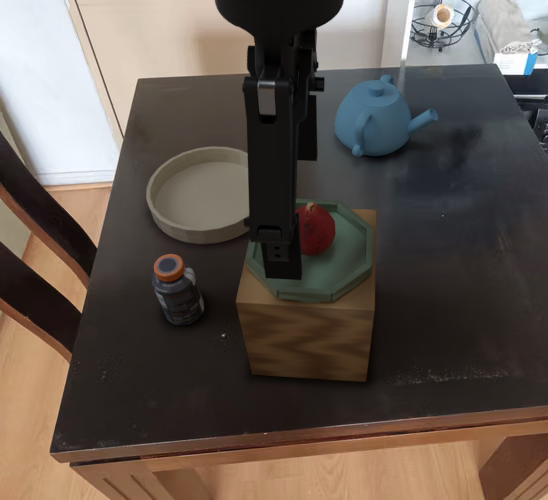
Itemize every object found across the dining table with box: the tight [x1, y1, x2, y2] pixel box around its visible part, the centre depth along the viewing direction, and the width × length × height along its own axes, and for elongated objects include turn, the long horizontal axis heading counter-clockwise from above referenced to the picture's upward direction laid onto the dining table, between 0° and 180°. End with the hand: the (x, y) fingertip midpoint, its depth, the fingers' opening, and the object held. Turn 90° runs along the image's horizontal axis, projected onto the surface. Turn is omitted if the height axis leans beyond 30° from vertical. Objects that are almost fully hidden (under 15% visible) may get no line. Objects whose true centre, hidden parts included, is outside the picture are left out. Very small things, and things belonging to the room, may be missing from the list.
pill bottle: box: [151, 253, 205, 326], centre depth 78 cm, size 6×6×11 cm
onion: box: [295, 202, 336, 256], centre depth 63 cm, size 6×6×8 cm
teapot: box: [333, 73, 439, 158], centre depth 104 cm, size 20×20×13 cm
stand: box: [235, 197, 378, 383], centre depth 73 cm, size 16×16×20 cm
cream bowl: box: [145, 145, 250, 245], centre depth 96 cm, size 21×21×4 cm
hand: (294, 211), depth 45 cm, fingers open, 13 cm apart
